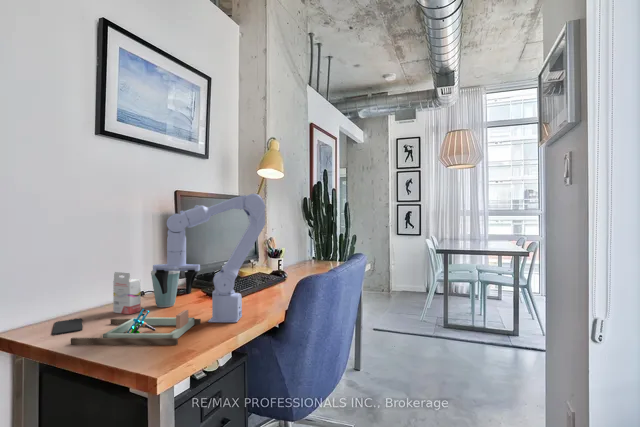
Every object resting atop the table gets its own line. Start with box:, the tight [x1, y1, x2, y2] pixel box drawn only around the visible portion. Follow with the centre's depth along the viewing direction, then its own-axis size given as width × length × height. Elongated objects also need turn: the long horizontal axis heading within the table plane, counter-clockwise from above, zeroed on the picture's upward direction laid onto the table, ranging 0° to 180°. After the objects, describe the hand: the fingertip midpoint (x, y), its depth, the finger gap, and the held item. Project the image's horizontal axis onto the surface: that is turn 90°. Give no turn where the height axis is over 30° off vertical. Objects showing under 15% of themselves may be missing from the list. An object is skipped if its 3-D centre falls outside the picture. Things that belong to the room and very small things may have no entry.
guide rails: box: [70, 318, 202, 346], centre depth 103 cm, size 29×18×2 cm, turn 89°
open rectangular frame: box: [102, 309, 195, 339], centre depth 103 cm, size 19×16×6 cm
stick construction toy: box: [126, 308, 156, 333], centre depth 103 cm, size 12×7×8 cm
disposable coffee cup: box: [150, 269, 181, 308], centre depth 135 cm, size 11×11×15 cm
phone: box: [52, 317, 84, 336], centre depth 110 cm, size 7×1×15 cm
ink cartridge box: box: [112, 271, 142, 316], centre depth 127 cm, size 9×5×15 cm, turn 68°
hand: (176, 293), depth 112 cm, fingers open, 7 cm apart
